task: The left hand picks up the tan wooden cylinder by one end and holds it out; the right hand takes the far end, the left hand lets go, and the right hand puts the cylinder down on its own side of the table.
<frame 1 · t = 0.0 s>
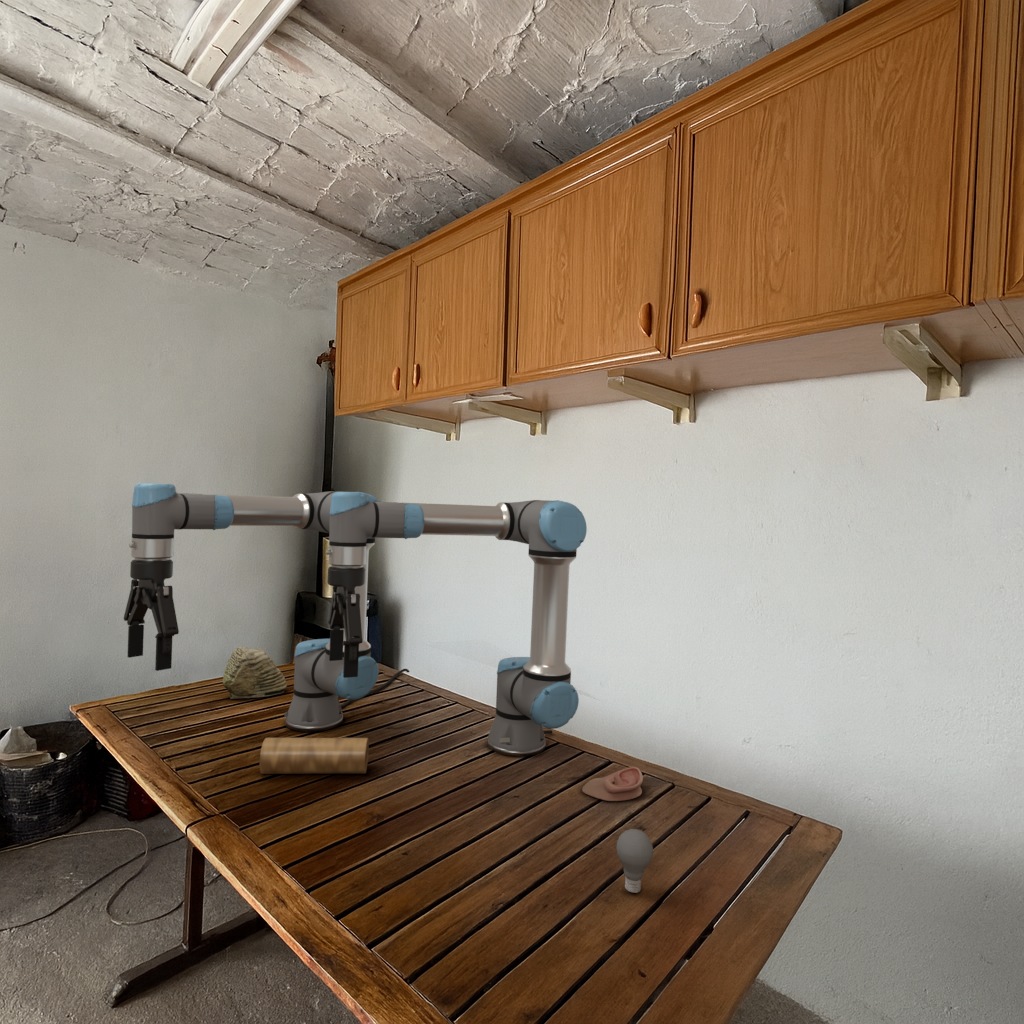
left hand: (148, 662, 129), 28 cm above the table, tool pointing down, fingers open, 13 cm apart
right hand: (342, 668, 131), 28 cm above the table, tool pointing down, fingers open, 13 cm apart
fossil: (254, 694, 198), on the table
anatomical model: (612, 790, 142), on the table
tan wooden cylinder: (315, 772, 145), on the table
light bulb: (632, 891, 106), on the table
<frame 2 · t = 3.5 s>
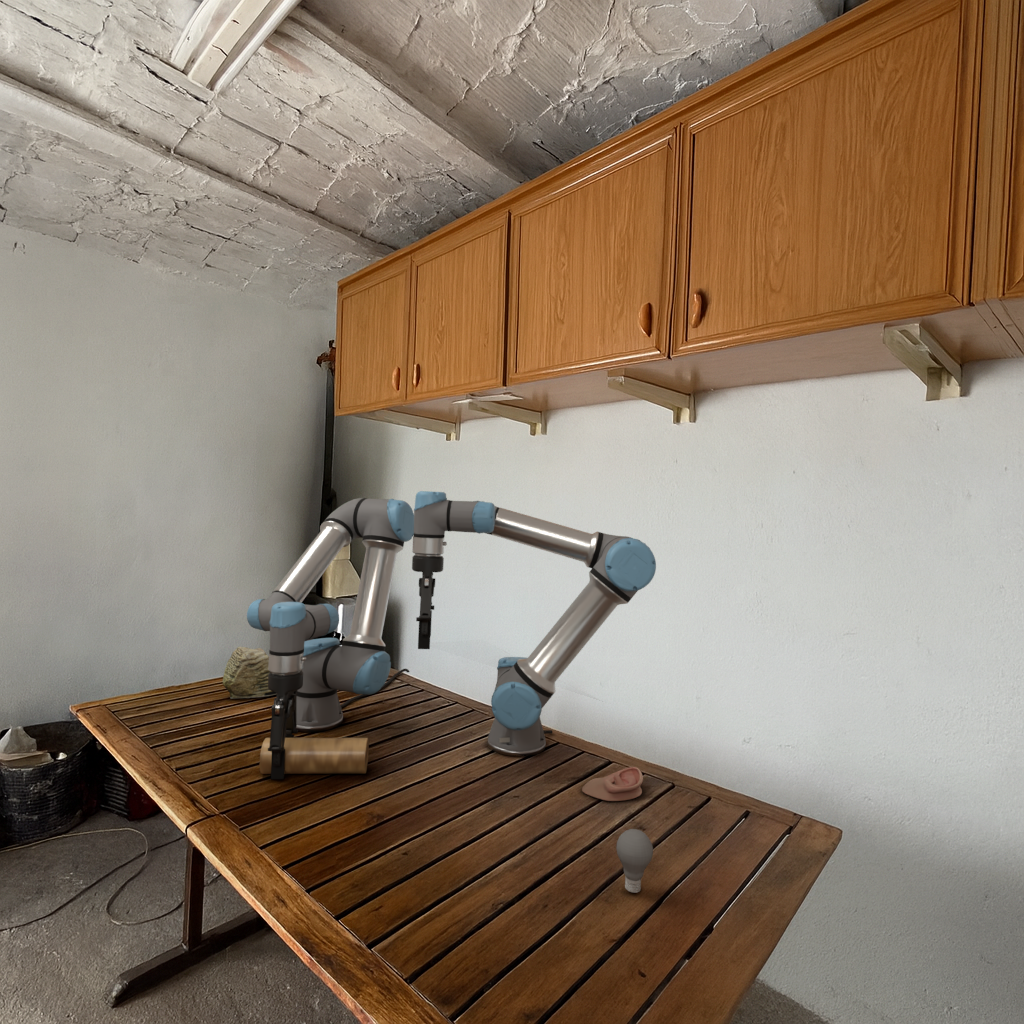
left hand: (282, 770, 145), 0 cm above the table, tool pointing down, fingers closed on tan wooden cylinder, 8 cm apart
right hand: (424, 642, 154), 29 cm above the table, tool pointing down, fingers open, 13 cm apart
tan wooden cylinder: (315, 772, 145), on the table, touching left hand
everything else where it was.
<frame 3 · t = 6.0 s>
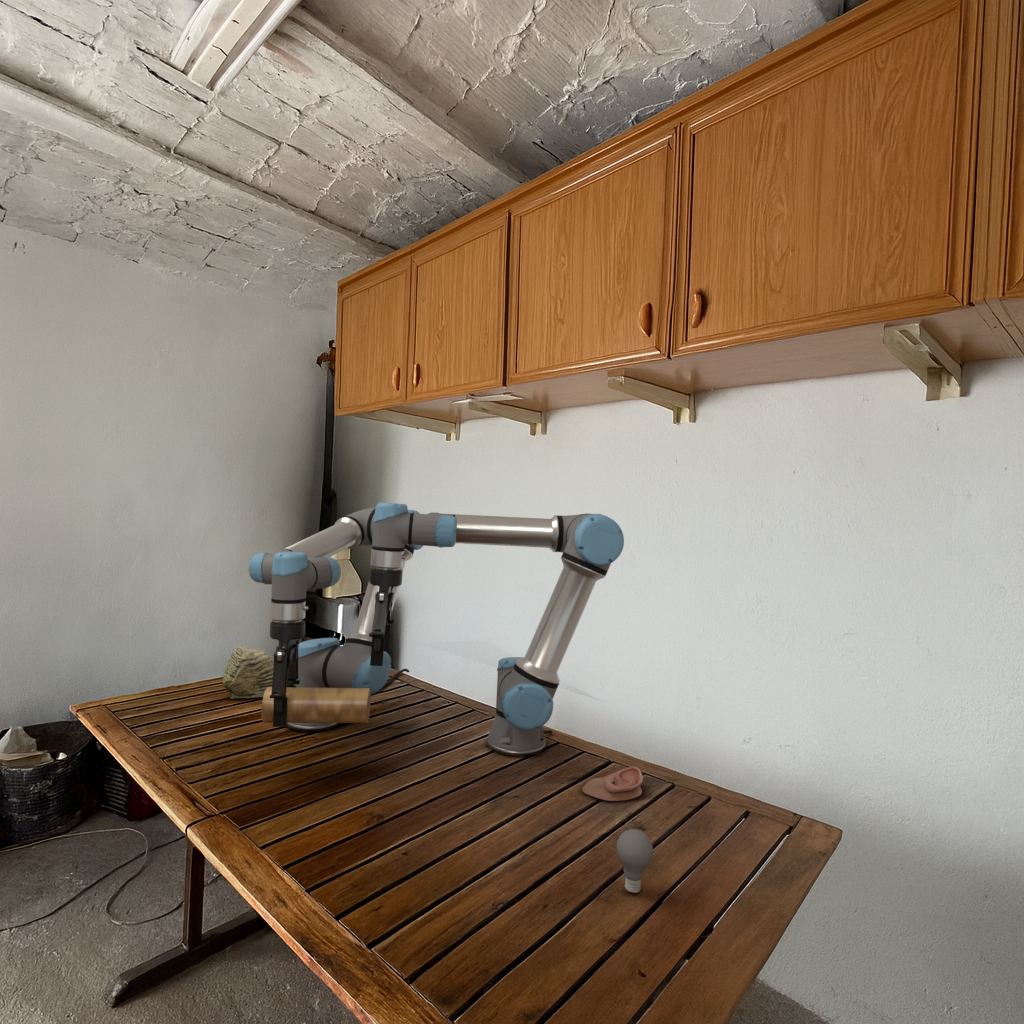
left hand: (284, 719, 144), 12 cm above the table, tool pointing down, fingers closed on tan wooden cylinder, 8 cm apart
right hand: (379, 658, 149), 26 cm above the table, tool pointing down, fingers open, 13 cm apart
tan wooden cylinder: (317, 721, 145), point 12 cm above the table, touching left hand
everything else where it was.
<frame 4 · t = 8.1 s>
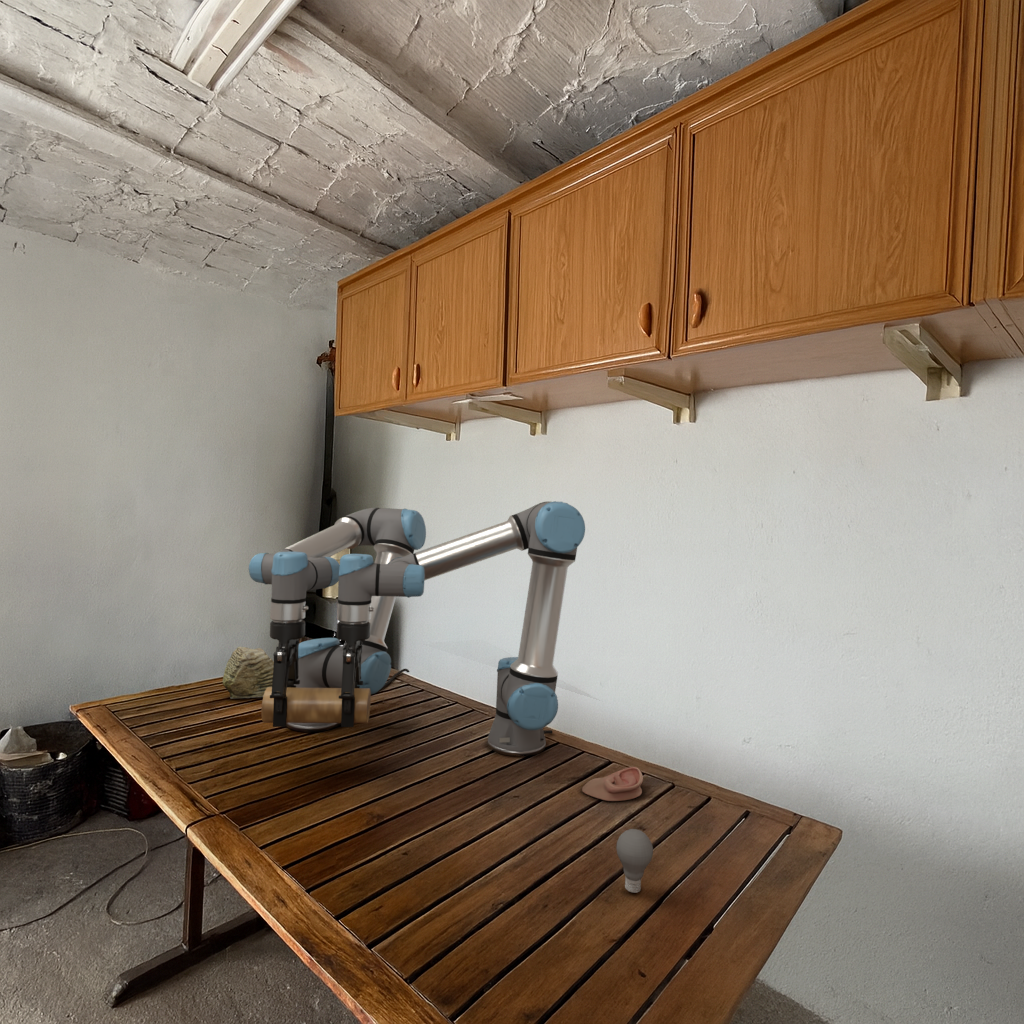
left hand: (284, 719, 144), 12 cm above the table, tool pointing down, fingers closed on tan wooden cylinder, 8 cm apart
right hand: (350, 719, 146), 12 cm above the table, tool pointing down, fingers closed on tan wooden cylinder, 8 cm apart
tan wooden cylinder: (317, 721, 145), point 12 cm above the table, touching left hand, right hand
everything else where it was.
when the left hand's fingers open (12 cm above the table, at t = 8.9 s): tan wooden cylinder stays where it is, held by the right hand.
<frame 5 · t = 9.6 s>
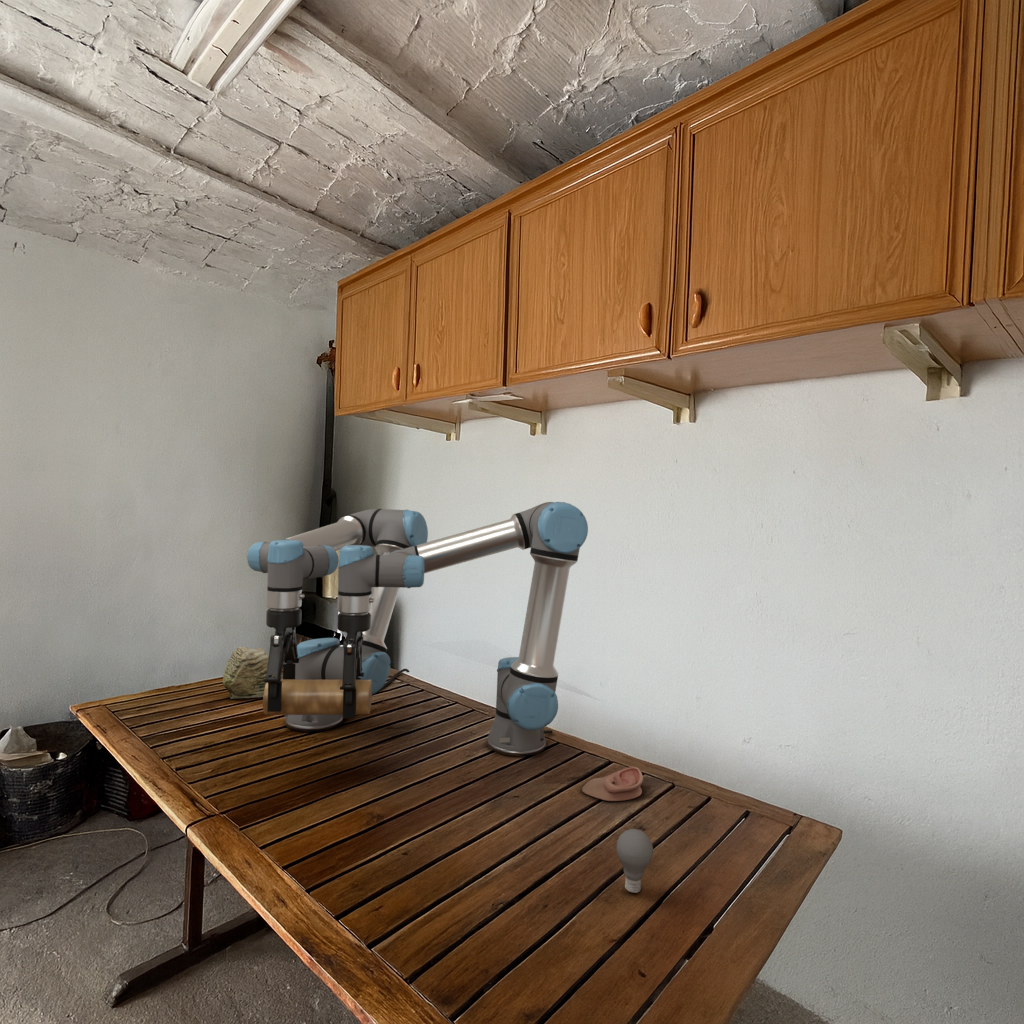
left hand: (281, 700, 144), 16 cm above the table, tool pointing down, fingers open, 13 cm apart
right hand: (351, 711, 146), 14 cm above the table, tool pointing down, fingers closed on tan wooden cylinder, 8 cm apart
tan wooden cylinder: (318, 713, 145), point 14 cm above the table, touching right hand
everything else where it was.
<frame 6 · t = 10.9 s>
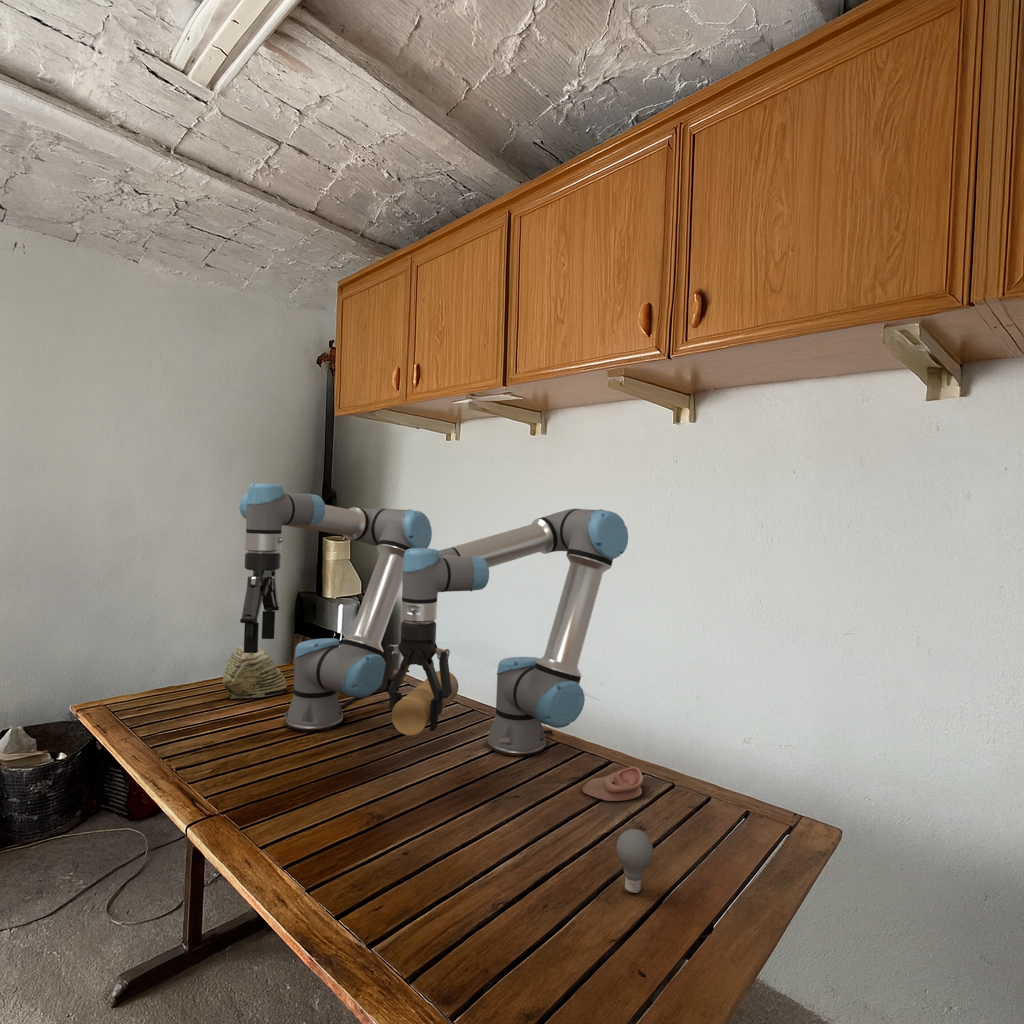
left hand: (259, 645, 143), 29 cm above the table, tool pointing down, fingers open, 13 cm apart
right hand: (414, 726, 136), 15 cm above the table, tool pointing down, fingers closed on tan wooden cylinder, 8 cm apart
tan wooden cylinder: (426, 717, 143), point 15 cm above the table, touching right hand
everything else where it was.
when the right hand's fingers open (2 cm above the table, at t = 14.0 s): tan wooden cylinder drops 1 cm, on the table.
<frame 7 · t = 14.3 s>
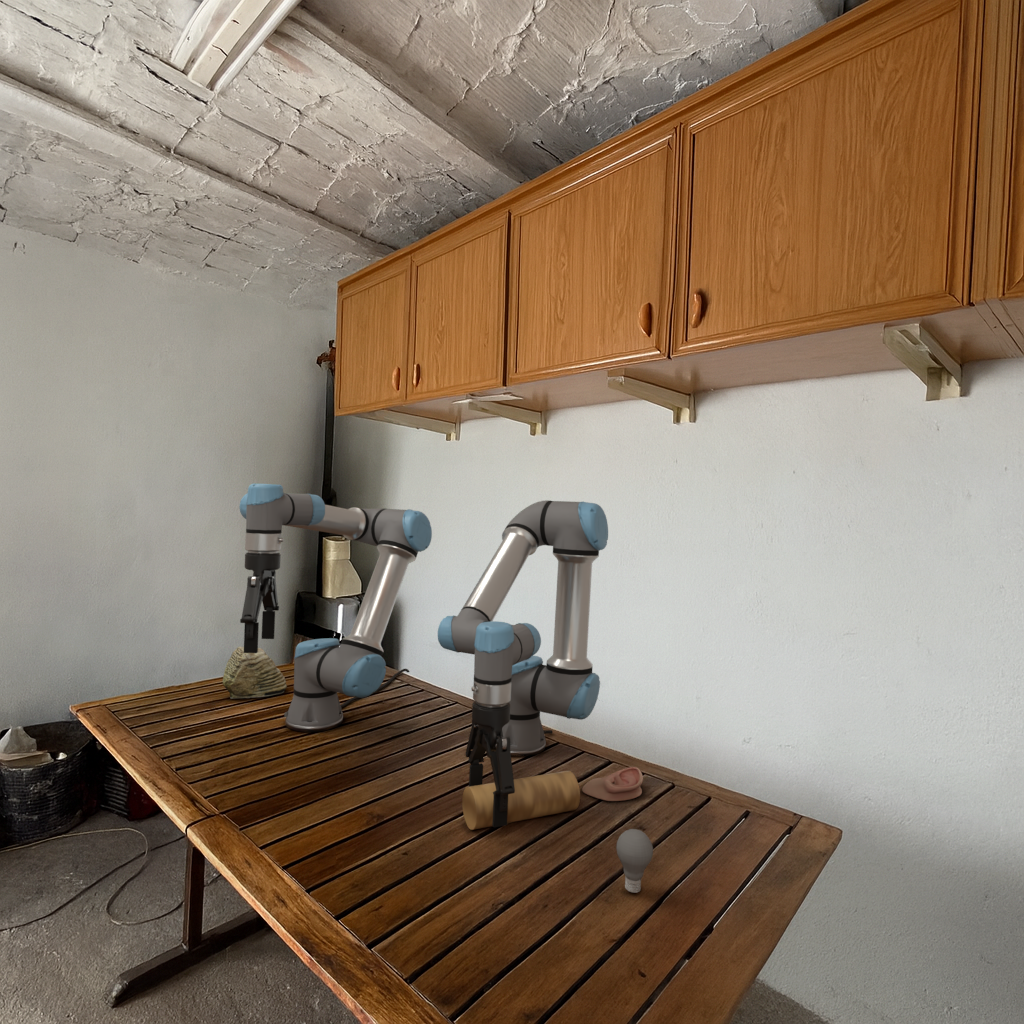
left hand: (259, 645, 143), 29 cm above the table, tool pointing down, fingers open, 13 cm apart
right hand: (486, 810, 125), 3 cm above the table, tool pointing down, fingers open, 12 cm apart
tan wooden cylinder: (520, 817, 129), on the table
everything else where it was.
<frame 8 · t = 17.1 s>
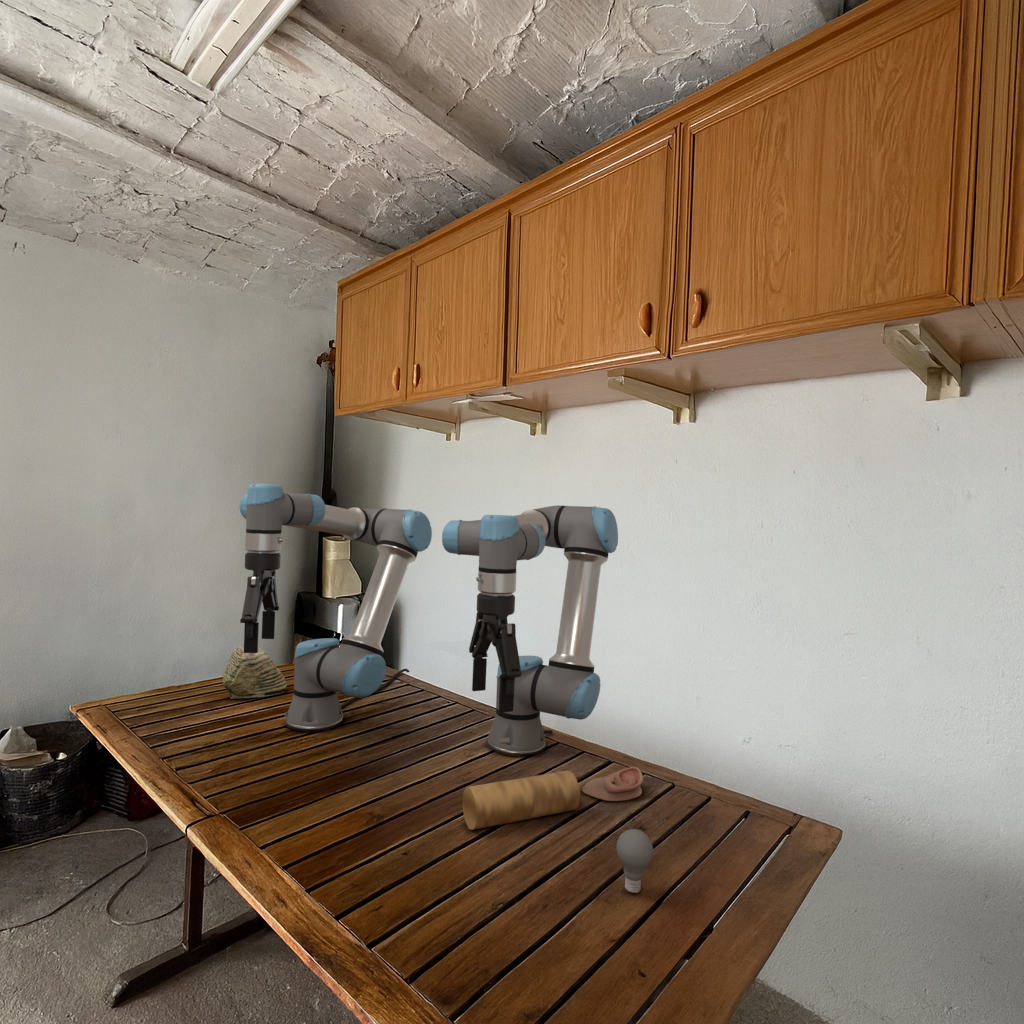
left hand: (259, 645, 143), 29 cm above the table, tool pointing down, fingers open, 13 cm apart
right hand: (491, 700, 125), 25 cm above the table, tool pointing down, fingers open, 13 cm apart
nothing on the table moved.
at the end: tan wooden cylinder inside the target area (7.7 cm from its centre), on the table; the left hand is holding nothing; the right hand is holding nothing; tan wooden cylinder at rest at the end (0.0 cm/s) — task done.
